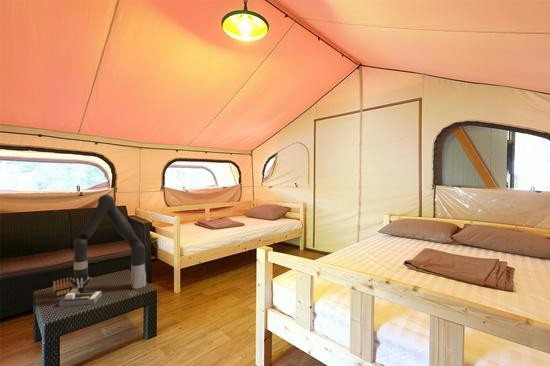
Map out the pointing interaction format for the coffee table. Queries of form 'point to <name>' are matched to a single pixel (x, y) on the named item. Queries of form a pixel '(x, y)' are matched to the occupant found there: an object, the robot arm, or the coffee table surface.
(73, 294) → the switch
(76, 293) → the switch
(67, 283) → the ammunition clip
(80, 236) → the robot arm
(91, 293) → the switch panel
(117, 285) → the coffee table surface
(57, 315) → the coffee table surface
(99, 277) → the coffee table surface
